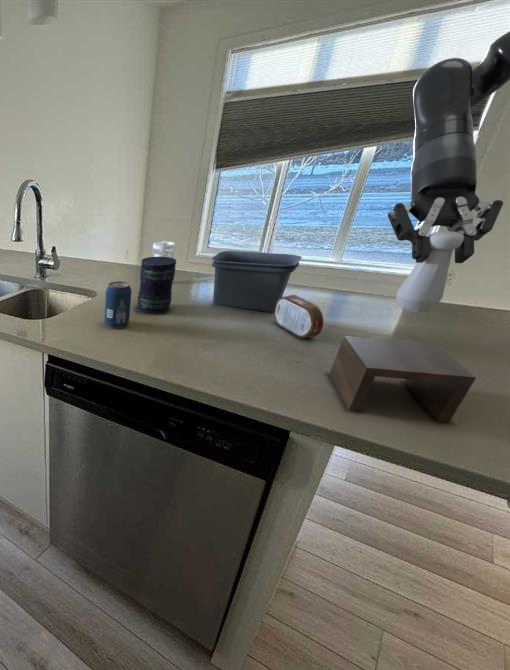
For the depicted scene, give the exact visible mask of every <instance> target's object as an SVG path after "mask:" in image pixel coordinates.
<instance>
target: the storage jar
mask: <svg viewBox="0 0 510 670" xmlns="http://www.w3.org/2000/svg"><path fill="white" fill-rule="evenodd" d="M140 264H141V265H140V269H139V270H140V271H139V274H140V275H139V281H140V283H139V290H138V293H137V294H138V295H137V306H136V310H137V311H138V312H140V313H142V314H147V315H163V314H166V313H168V312H170V309H171V307H170V306H171V303H172V299H173V298H172V295H173V291H172V290H173V282H174V280H175V275H176V267H177V266H176V264H177V259H176V258H174V257H173V258H170V257H167V256H166V257H152V256H149V257H144V258H142V259H141V263H140Z"/></svg>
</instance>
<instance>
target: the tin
mask: <svg viewBox="0 0 510 670" xmlns="http://www.w3.org/2000/svg"><path fill="white" fill-rule="evenodd" d="M273 312H274V313H273V314H274V319H275V321H276V323H277V324H278V326H280V327H281V328H283V329H284V330H286V331H288V332H289V333H291V334H293V335H294V336H295V337H297V338H299V339H307V338H315V337H317V336H319V334H320V333H321V332H322V330H323V327H324V316H323V312H322V309H320V307H319V306H318V305H316V304H314V303H312V302H310V301H308V300H306V299H304V298H302V297H300V296H298V295H296V294H290V295H285V296H282V297H281V298H280V299H279V300H278V301H277V303H276V306H275V310H274V311H273Z"/></svg>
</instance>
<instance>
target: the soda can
mask: <svg viewBox="0 0 510 670" xmlns="http://www.w3.org/2000/svg"><path fill="white" fill-rule="evenodd" d="M104 302H105V303H104V320H103V321H104V323H105V325H106V326H107V327H108V328H111V329H123V328H125V327H126V326H127V325H128V324H129V322H130V315H131V302H132V289H131V284H130V282H127V281H111V282H109V283H108V286H107V288H106V289H105V301H104Z"/></svg>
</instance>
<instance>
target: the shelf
mask: <svg viewBox="0 0 510 670" xmlns="http://www.w3.org/2000/svg"><path fill="white" fill-rule="evenodd" d="M329 377H330V378H331V380H332V382H333V384H334V386H335V388H336V389H337V392H338V394H339V395H340V397H341V399H342V400H343V402H344V404H345V406H346V407H347V409H348V411H352V412H360V411H361V409H362V407H363V405H364V403H365V400H366V398H367V396H368V393H369V391H370V389H371V386H372V385H373V382H374V380H375V378H376V377H380V378H391V379H400V380H404V383H405V384H406V385H407V387H408V388H409V389H410V390H411V392H412V393H413V394H414V395H415V396H416V397H417V398H418V400H419V401H420V402H421V403H422V404H423V406H424V407H425V408H426V409H427V411H428V412H429V413H430V415H432V417H433V418H434V419H435V420H436V421H437V422H441V423H450V422H451V421H452V419H453V417H454V415H455V414H456V412H457V410H458V409H459V407H460V405H461V404H462V402H463V400H464V399H465V397H466V395H467V393H468V392H469V390H470V388H471V387H472V386H473V384H474V382H475V380H476V379H477V377H476V375H474V374H473V373H472V372H470V371H469V370H468V369H467V368H466V367H465V366H464V365H463V364H462V363H461V362H459V361H458V360H457V359H456V358H455V357H453V356H452V355H451V354H450V353H449V352H448V351H446V350H445V349H444V347H442V346H441V345H440V344H439V343H437V342H436V341H425V340H413V339H397V338H381V337H367V336H353V335H344V336H343V337H342V340H341V343H340V345H339V349H338V351H337V353H336V355H335V359H334V360H333V364H332V366H331V369H330V370H329Z"/></svg>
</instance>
